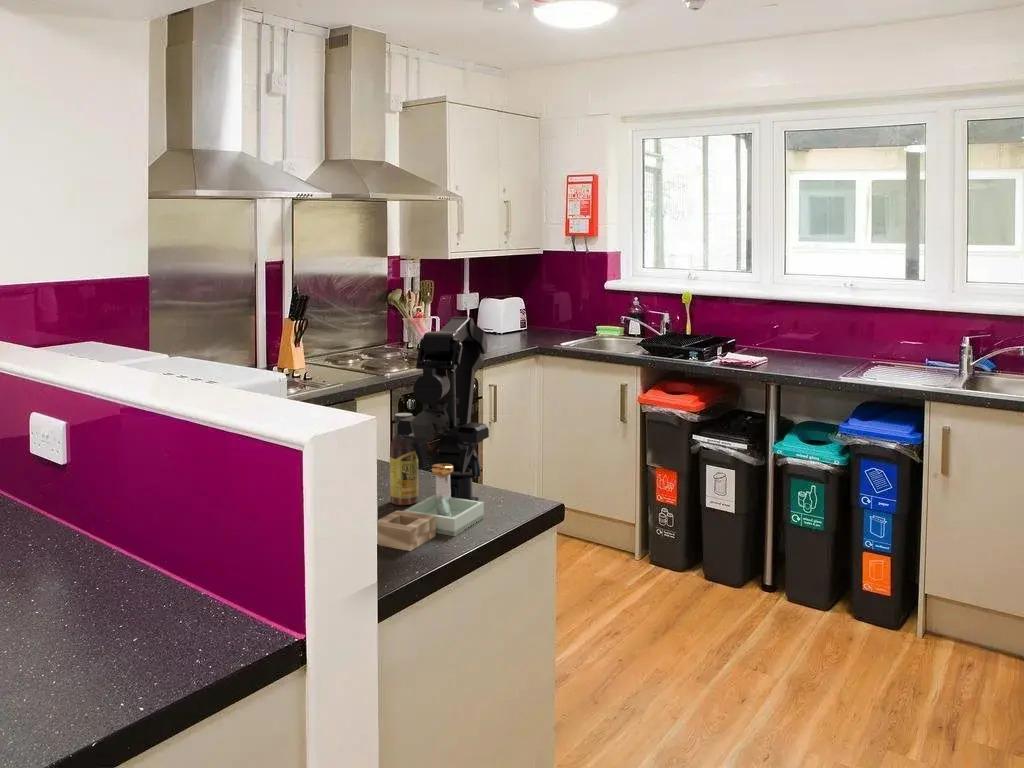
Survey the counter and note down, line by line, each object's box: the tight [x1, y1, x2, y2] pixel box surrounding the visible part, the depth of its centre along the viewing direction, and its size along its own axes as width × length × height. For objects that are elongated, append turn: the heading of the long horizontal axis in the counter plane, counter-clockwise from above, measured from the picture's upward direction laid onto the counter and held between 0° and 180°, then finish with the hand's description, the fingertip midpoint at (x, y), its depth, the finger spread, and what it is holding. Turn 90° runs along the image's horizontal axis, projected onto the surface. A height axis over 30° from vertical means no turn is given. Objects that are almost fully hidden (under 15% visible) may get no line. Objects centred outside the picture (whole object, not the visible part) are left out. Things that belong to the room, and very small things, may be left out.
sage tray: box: [403, 494, 485, 537], centre depth 182 cm, size 12×12×4 cm
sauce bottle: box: [389, 412, 419, 506], centre depth 195 cm, size 7×6×20 cm
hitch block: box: [377, 510, 437, 552], centre depth 173 cm, size 9×9×4 cm
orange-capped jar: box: [431, 463, 453, 517], centre depth 182 cm, size 4×4×11 cm
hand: (443, 470), depth 180 cm, fingers open, 9 cm apart
